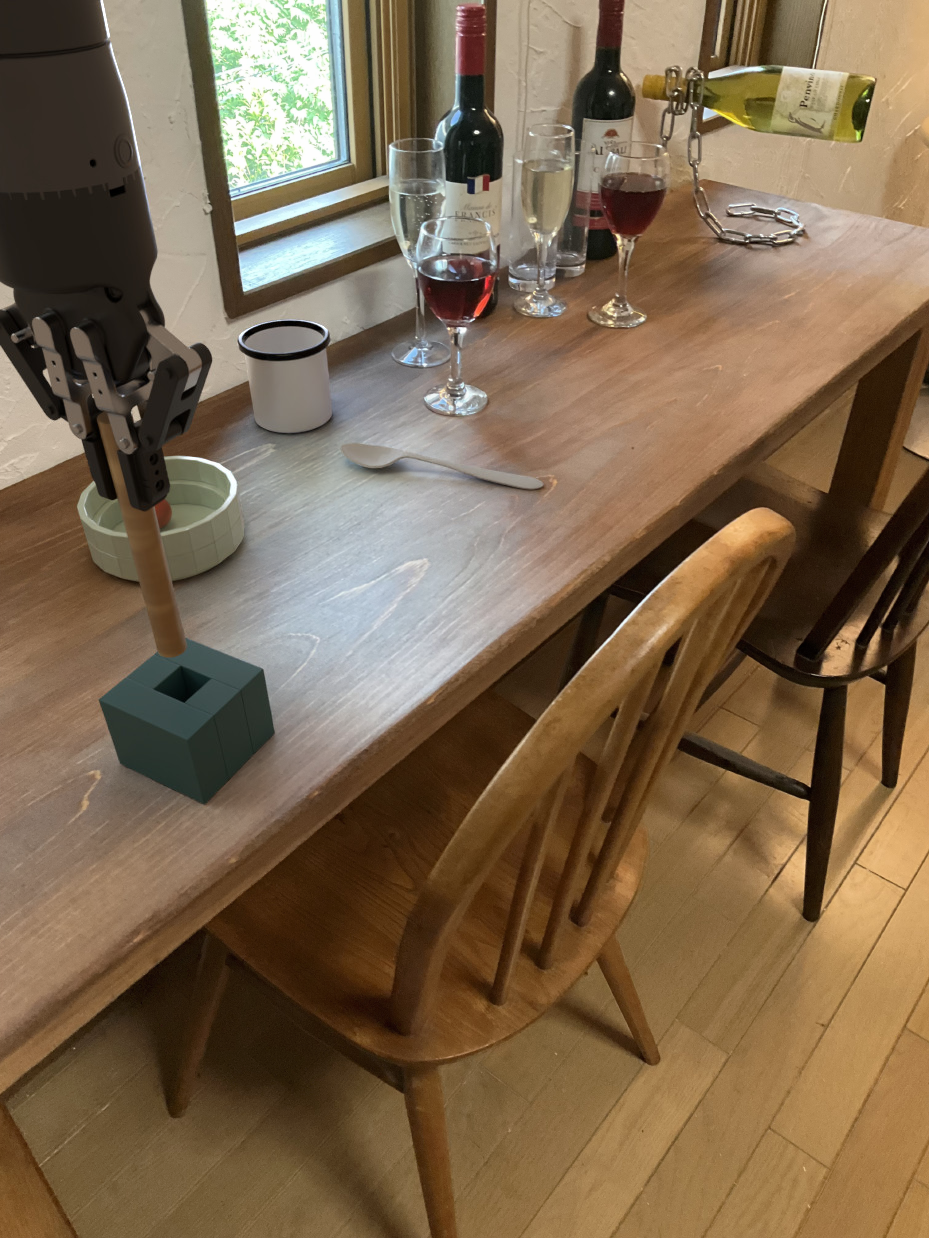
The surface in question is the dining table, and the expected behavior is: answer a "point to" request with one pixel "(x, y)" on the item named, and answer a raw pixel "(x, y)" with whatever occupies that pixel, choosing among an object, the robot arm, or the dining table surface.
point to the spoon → (387, 456)
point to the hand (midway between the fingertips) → (135, 497)
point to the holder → (189, 719)
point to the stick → (147, 557)
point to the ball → (163, 513)
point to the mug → (288, 374)
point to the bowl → (172, 521)
